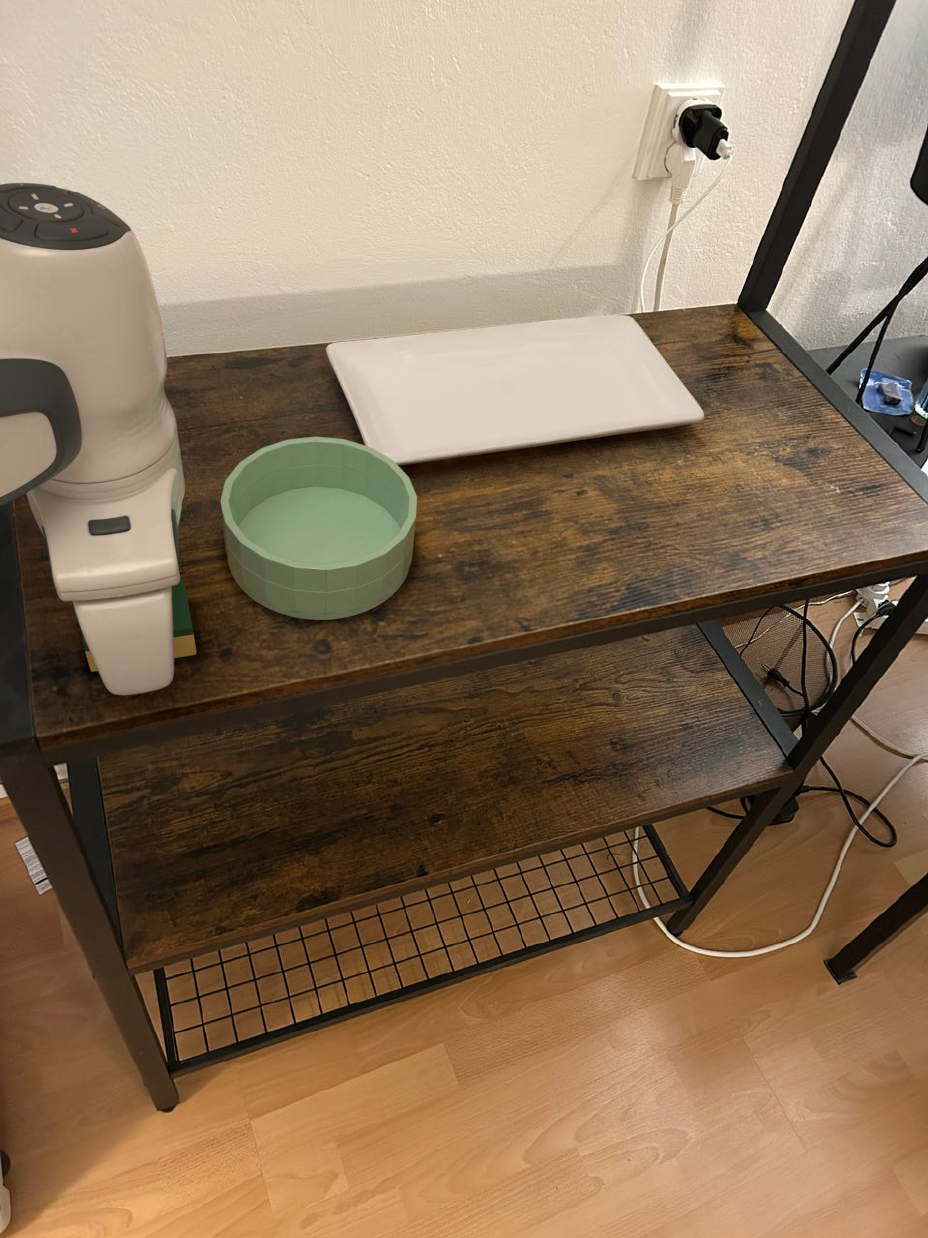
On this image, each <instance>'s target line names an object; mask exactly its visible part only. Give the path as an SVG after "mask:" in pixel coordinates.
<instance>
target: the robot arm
mask: <svg viewBox="0 0 928 1238" xmlns="http://www.w3.org/2000/svg"><path fill="white" fill-rule="evenodd" d="M167 373H168V354H167V348H166V341H165V334H164V329H163V322H162V317H161V312H160V307H159V303H158V299H157V295H156V290H155V286H154V282H153V278H152V275H151V271H150V268H149V265H148V262H147V258H146V256H145V254H144V250H143V248H142V246H141V243H140V241H139V239H138V237H137V235H136V234H135V231H133V229H132V228H131V227H130V225H129V224H128V223H127V222H125V221H124V220H123V219H122V218H121V217H119V216H118V215H117V214H116V213H115V212H113V211H112V210H111V209H109V208H108V207H106V206H105V205H103V204H102V203H101V202H99V201H96V200H95V199H93V198H92V197H90V196H88V195H85V194H83V193H81V192H79V191H73V190H70V189H66V188H61V187H57V186H56V185H51V184H46V183H36V182H35V183H34V182H10V183H9V182H8V183H1V184H0V508H1V507H3V506H5V505H7V504H9V503H11V502H13V501H15V500H16V499H17V500H18V498H20V497H23V496H24V495H26V498H27V501H28V505H29V508H30V510H31V513H32V515H33V516H34V520H35V522H36V524H37V525H38V528H39V531H40V532H41V534H42V537H44V542H45V547H46V553H47V559H48V564H49V569H50V572H51V576H52V579H53V580H52V581H53V585H54V588H55V591H56V594H57V596H58V598H59V600H61V602H72V604H73V608H74V612H75V614H76V617H77V621H78V624H79V627H80V630H81V633H82V632H83V635H84V638H85V640H86V643H87V645H88V648H89V650H90V652H91V655H92V657H93V660H94V662H95V665H96V667H97V669H98V671H97V672H98V674H99V676H100V678H101V680H102V683H103V685H104V687H105V688H106V689H107V691H108V692H109V693H111V694H112V695H116V696H131V695H139V694H140V695H141V694H145V693H149V692H154V691H158V690H162V689H164V688H167V687H168V686H169V685H171V684H172V682H173V680H174V676H175V675H174V674H175V658H174V636H173V608H172V586H174V585H177V584H178V583H179V582H180V580H181V575H180V567H181V563H180V554H179V525H180V519H181V516H182V515H181V514H182V509H183V508H182V507H183V500H184V498H185V494H186V482H185V481H186V480H185V473H184V468H183V460H182V453H181V446H180V438H179V431H178V424H177V419H176V415H175V412H174V409H173V407H172V404H171V403H170V401H169V399H168V397H167V395H166V392H165V384H166V383H165V382H166V378H167Z"/></svg>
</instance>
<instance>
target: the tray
mask: <svg viewBox="0 0 928 1238" xmlns="http://www.w3.org/2000/svg"><path fill="white" fill-rule="evenodd" d="M325 352H326V355H327V358H328V361H329V364H330V365H331V367H332V369H333V371H334V374H335V376H336V378H337V381H338V383H339V385H340V387H341V389H342V391H343V395H344V396H345V399H346V401H347V403H348V405H349V408H350V410H351V412H352V413H351V414H352V415H353V417H354V420H355V422H356V426H357V428H358V430H359V433H360V435H361V437H362V440H363V444H364V445H365V446H368V447H370V448H373V449H374V450H376V451H378V452H380V453H381V454H383V455H385V456H386V457H388V458H390V459H392V460H393V461H394V462H395V463H396V464H397V465H398V466H406V465H413V464H420V463H426V462H427V463H428V462H429V463H430V462H435V461H441V460H447V459H455V458H463V457H468V456H469V457H470V456H475V455H484V454H490V453H499V452H505V451H514V450H520V449H527V448H535V447H542V446H548V445H556V444H563V443H568V442H575V441H582V440H589V439H596V438H603V437H610V436H616V435H617V436H618V435H623V434H629V433H631V434H632V433H638V432H646V431H653V430H661V429H671V428H675V427H680V426H686V425H689V424H695V423H700V422H702V420H704V418H705V413H704V410H703V408H702V407H701V406H700V404H699V403H698V401H697V400H696V398H695V397H694V396H693V395H692V394H691V392H690V390H688V388H687V387H686V385H685V384H684V383H683V382H682V381H681V379H680V378H679V377H678V375H677V374H676V372H675V371H674V370H673V369H672V367H671V366H670V365H669V363H668V362H667V361H666V359H665V358H664V357H663V355H662V353H660V351H659V350H658V349H657V347H656V346H655V345H654V343H653V342H652V341H651V339H650V338H649V336H648V335H647V333H646V332H645V331H644V330H643V328H642V327H641V326H640V324H639V323H638V322H637V321H636V319H635V318H634V317H632V316H631V315H627V314H626V315H625V314H624V315H623V314H601V315H593V316H592V315H591V316H582V317H581V316H580V317H571V318H560V319H550V320H542V321H540V320H539V321H530V322H522V323H512V324H501V325H494V326H483V327H475V328H465V329H456V330H455V329H454V330H446V331H445V330H444V331H434V332H426V333H415V334H407V335H397V336H389V337H378V338H367V339H356V340H355V339H354V340H347V341H346V340H345V341H337V342H332V343H329V344H328V345H327V346H326V349H325Z"/></svg>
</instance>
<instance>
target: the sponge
mask: <svg viewBox="0 0 928 1238" xmlns="http://www.w3.org/2000/svg"><path fill="white" fill-rule="evenodd" d="M172 608H173V636H174V659H178V658H184V657H190V656H196V655H197V648H196V640H195V635H194V627H193V623H192V616H191V611H190V605H189V599H188V593H187V589H186V582H185V580H184V579H180V582H179V583H178V584H177V585H174V586H172ZM81 637H82V646H83V649H84V653H85V655H86V659H87V663H88V666H89V670H90V672H91V673H93V672H98V669H97V667H96V665H95V662H94V660H93V657H92V655H91V652H90V650H89V648H88V645H87V643H86V640H85V638H84V635H83V632H82V631H81Z"/></svg>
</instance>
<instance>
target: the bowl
mask: <svg viewBox="0 0 928 1238" xmlns="http://www.w3.org/2000/svg"><path fill="white" fill-rule="evenodd" d="M219 502H220V503H219V504H220V511H221V522H222V530H223V540H224V548H225V553H226V558H227V559H226V560H227V565H228V568H229V571H230V574H231V576H232V577H233V579H234V581H235V583H236V584H237V585H238V587H239V588H240V589H241V590H242V591H243V592H244V593H245V594H246V595H247V596H248V597H249V598H250V599H252V600H253V601H255V602H256V603H257V604H259V605H260V606H262V607H264V608H266V609H268V610H271V611H272V612H275V613H276V614H277V613H278V614H281V615H283V616H288V617H291V618H295V619H302V620H312V621H329V620H330V621H331V620H340V619H344V618H345V619H346V618H350V617H354V616H356V615H359V614H360V615H361V614H363V613H366V612H368V611H370V610H373V609H375V608H376V607H378V606H380V605H381V604H383V603H384V602H386V601H387V600H388V599H390V598H391V597H392V596H394V594H395V593H396V592H397V591H398V590H399V589H400V587H401V586H402V585H403V583H404V582H405V581H406V579H407V576H408V574H409V572H410V569H411V565H412V561H413V551H414V543H415V542H414V541H415V532H416V523H417V510H418V508H417V507H418V496H417V493H416V491H415V488H414V486H413V484H412V481H411V478H410V476H408V475H407V473H406V472H404V470H403V469H402V468H401V467H400V465H397V464H396V463H395V462H394V461H393V460H392V459H390V458H388V457H386V456H385V455H383V454H381V453H380V452H378V451H376V450H374V449H373V448H370V447H368V446H366V445H365V444H361V443H358V442H354V441H351V440H348V439H344V438H338V437H337V438H335V437H326V436H325V437H324V436H309V437H299V438H290V439H289V438H288V439H285V440H282V441H279V442H275V443H273V444H270V445H266V446H264V447H261V448H260V449H258V450H256V451H254V452H253V453H252V454H250V455H248V456H247V457H246V458H244V459H243V460H241V461H240V462H238V464H237V465H236V466H235V468H234V469H233V470H232V471H231V472H230V474H229V475H228V477H227V478H226V479H225V480H224V484H223V487H222V493H221V497H220V500H219Z"/></svg>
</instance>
